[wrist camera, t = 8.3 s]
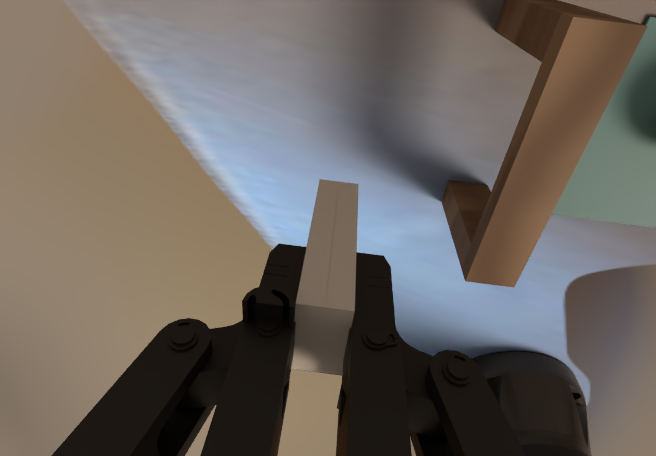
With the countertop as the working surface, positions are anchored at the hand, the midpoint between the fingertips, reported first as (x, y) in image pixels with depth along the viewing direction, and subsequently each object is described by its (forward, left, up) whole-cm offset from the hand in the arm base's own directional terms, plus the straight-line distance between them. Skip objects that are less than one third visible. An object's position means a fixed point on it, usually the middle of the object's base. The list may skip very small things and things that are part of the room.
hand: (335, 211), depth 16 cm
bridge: (0, -10, -14) cm, 18 cm away
